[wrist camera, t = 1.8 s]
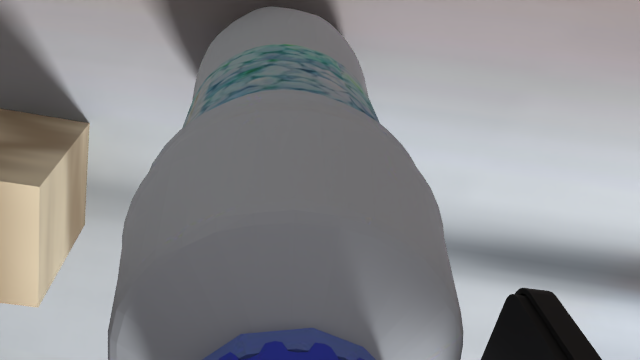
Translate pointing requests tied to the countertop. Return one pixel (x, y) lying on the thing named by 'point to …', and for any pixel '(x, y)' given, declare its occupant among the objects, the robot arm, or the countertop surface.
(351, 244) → the bottle
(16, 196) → the block
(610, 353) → the countertop surface
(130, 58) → the countertop surface
